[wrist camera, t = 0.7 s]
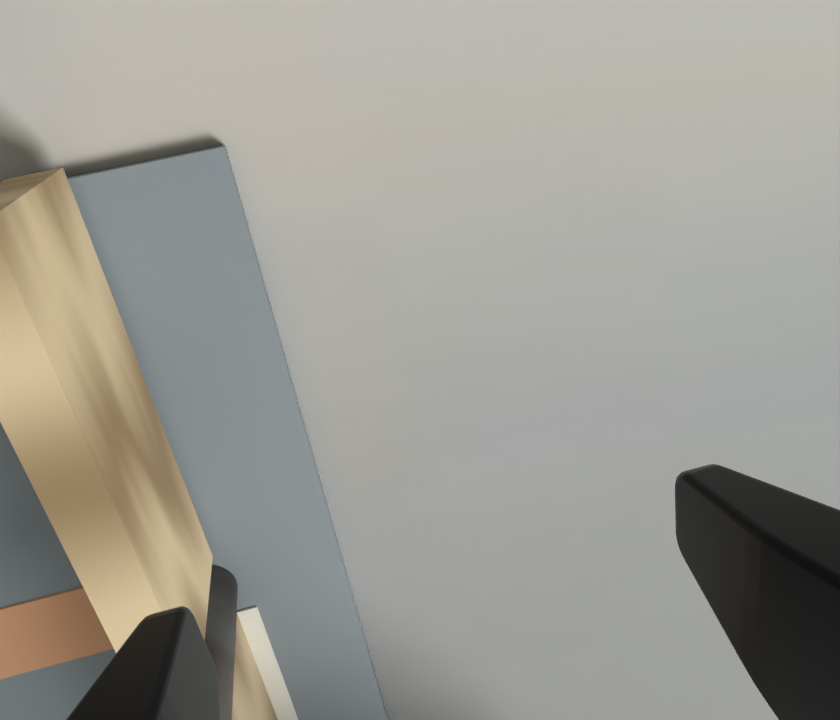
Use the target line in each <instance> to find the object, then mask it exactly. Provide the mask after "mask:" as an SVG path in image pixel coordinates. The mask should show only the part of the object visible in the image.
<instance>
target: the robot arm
mask: <svg viewBox="0 0 840 720" xmlns="http://www.w3.org/2000/svg"><path fill="white" fill-rule="evenodd" d="M675 512H676V537H677V542H678V545H679V548H680V551H681V553H682V555H683V557H684V559H685V561H686V563H687V565H688V567H689V568H690V570H691V572H692V574H693V575H694V577H695V579H696V581H697V583H698V584H699V586H700V588H701V590H702V592H703V593H704V595H705V597H706V599H707V601H708V602H709V604H710V606H711V608H712V610H713V611H714V613H715V615H716V617H717V618H718V620H719V622H720V624H721V626H722V627H723V629H724V631H725V633H726V635H727V636H728V638H729V640H730V642H731V644H732V645H733V647H734V649H735V651H736V653H737V654H738V656H739V658H740V660H741V661H742V663H743V665H744V667H745V668H746V670H747V672H748V673H749V675H750V677H751V678H752V680H753V682H754V683H755V685H756V686H757V688H758V689H759V691H760V692H761V694H762V695H763V697H764V698H765V700H766V701H767V703H768V704H769V706H770V707H771V709H772V710H773V712H774V713H775V714H776V716H777V717H778V719H779V720H840V510H838V509H835V508H833V507H830V506H827V505H825V504H822V503H819V502H817V501H814V500H811V499H809V498H806V497H803V496H801V495H798V494H795V493H793V492H790V491H787V490H785V489H782V488H779V487H777V486H774V485H771V484H768V483H766V482H763V481H760V480H758V479H755V478H752V477H750V476H747V475H744V474H742V473H739V472H736V471H734V470H731V469H728V468H726V467H723V466H720V465H715V464H711V465H706V466H702V467H699V468H695V469H691V470H687V471H684V472H682V473H680V474H679V475H678V477H677V479H676V483H675ZM66 720H220V713H219V690H218V679H217V673H216V669H215V665H214V662H213V660H212V657H211V655H210V652H209V650H208V648H207V645H206V643H205V640H204V638H203V636H202V633H201V631H200V628H199V626H198V624H197V621H196V619H195V617H194V615H193V613H192V612H191V610H190V609H189V608H187V607H184V606H180V607H176V608H172V609H168V610H165V611H161V612H157V613H153V614H151V615H148V616H146V617H145V618H144V619H143V620H142V621H141V622H140V623H139V624H138V626H137V627H136V628H135V630H134V631H133V632H132V633H131V635H130V636H129V637H128V639H127V640H126V641H125V643H124V644H123V645H122V647H121V648H120V649H119V651H118V652H117V653H116V654H115V656H114V657H113V658H112V660H111V661H110V662H109V664H108V665H107V666H106V668H105V669H104V670H103V672H102V673H101V674H100V676H99V677H98V678H97V679H96V681H95V682H94V683H93V685H92V686H91V687H90V689H89V690H88V691H87V693H86V694H85V695H84V697H83V698H82V699H81V700H80V702H79V703H78V704H77V706H76V707H75V708H74V710H73V711H72V712H71V714H70V715H69V716H68V718H67V719H66Z"/></svg>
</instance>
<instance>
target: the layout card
mask: <svg viewBox="0 0 840 720" xmlns="http://www.w3.org/2000/svg"><path fill="white" fill-rule="evenodd" d="M67 179H68V182H69V184H70V187H71V189H72V192H73V195H74V197H75V200H76V202H77V205H78V208H79V210H80V213H81V215H82V218H83V221H84V223H85V226H86V228H87V231H88V234H89V236H90V239H91V241H92V244H93V247H94V249H95V252H96V254H97V257H98V260H99V262H100V265H101V267H102V270H103V273H104V275H105V278H106V280H107V283H108V286H109V288H110V291H111V293H112V296H113V299H114V301H115V304H116V306H117V309H118V312H119V314H120V317H121V319H122V322H123V324H124V327H125V330H126V332H127V335H128V337H129V340H130V343H131V345H132V348H133V350H134V353H135V356H136V358H137V361H138V363H139V366H140V369H141V371H142V374H143V376H144V379H145V382H146V384H147V387H148V389H149V392H150V395H151V397H152V400H153V402H154V405H155V408H156V410H157V413H158V415H159V418H160V421H161V423H162V426H163V428H164V431H165V434H166V436H167V439H168V441H169V444H170V447H171V449H172V452H173V454H174V457H175V460H176V462H177V465H178V467H179V470H180V473H181V475H182V478H183V480H184V483H185V486H186V488H187V491H188V493H189V496H190V499H191V501H192V504H193V506H194V509H195V511H196V514H197V517H198V519H199V522H200V524H201V527H202V530H203V532H204V535H205V537H206V540H207V543H208V545H209V548H210V550H211V553H212V556H213V560H212V565H217V566H220V567H223V568H225V569H227V570H228V571H229V572H231V573H232V574H233V575H234V577H235V579H236V581H237V584H238V593H237V614H238V617H239V620H240V622H241V625H242V627H243V630H244V633H245V635H246V638H247V640H248V643H249V646H250V648H251V651H252V653H253V656H254V659H255V661H256V664H257V667H258V669H259V672H260V674H261V677H262V680H263V682H264V685H265V687H266V690H267V693H268V695H269V698H270V700H271V703H272V706H273V708H274V711H275V714H276V716H277V719H278V720H388V719H387V715H386V712H385V708H384V705H383V701H382V698H381V694H380V691H379V687H378V684H377V680H376V677H375V673H374V670H373V666H372V662H371V659H370V655H369V652H368V648H367V645H366V641H365V638H364V634H363V631H362V627H361V624H360V620H359V617H358V613H357V609H356V606H355V602H354V599H353V595H352V592H351V588H350V585H349V581H348V578H347V574H346V571H345V567H344V564H343V560H342V557H341V553H340V549H339V546H338V542H337V539H336V535H335V532H334V528H333V525H332V521H331V518H330V514H329V511H328V507H327V504H326V500H325V496H324V493H323V489H322V486H321V482H320V479H319V475H318V472H317V468H316V465H315V461H314V458H313V454H312V451H311V447H310V443H309V440H308V436H307V433H306V429H305V426H304V422H303V419H302V415H301V412H300V408H299V405H298V401H297V398H296V394H295V391H294V387H293V383H292V380H291V376H290V373H289V369H288V366H287V362H286V359H285V355H284V352H283V348H282V345H281V341H280V338H279V334H278V330H277V327H276V323H275V320H274V316H273V313H272V309H271V306H270V302H269V299H268V295H267V292H266V288H265V285H264V281H263V277H262V274H261V270H260V267H259V263H258V260H257V256H256V253H255V249H254V246H253V242H252V239H251V235H250V232H249V228H248V225H247V221H246V217H245V214H244V210H243V207H242V203H241V200H240V196H239V193H238V189H237V186H236V182H235V179H234V175H233V172H232V168H231V164H230V161H229V157H228V154H227V150H226V147H225V145H222V146H217V147H212V148H208V149H203V150H198V151H193V152H188V153H183V154H178V155H174V156H169V157H164V158H159V159H154V160H149V161H145V162H140V163H135V164H130V165H125V166H120V167H115V168H111V169H106V170H101V171H96V172H91V173H86V174H82V175H77V176H72V177H67ZM115 654H116V652H115V650H114V648H113V646H112V644H111V642H110V640H109V638H108V636H107V634H106V632H105V630H104V628H103V626H102V624H101V622H100V620H99V618H98V616H97V614H96V612H95V610H94V608H93V606H92V604H91V602H90V600H89V598H88V596H87V594H86V592H85V590H84V588H83V586H82V584H81V582H80V580H79V578H78V576H77V574H76V572H75V570H74V568H73V566H72V564H71V562H70V560H69V558H68V556H67V554H66V552H65V550H64V548H63V546H62V544H61V542H60V540H59V538H58V536H57V534H56V532H55V530H54V528H53V526H52V524H51V522H50V520H49V518H48V516H47V514H46V512H45V510H44V508H43V506H42V504H41V502H40V500H39V498H38V496H37V494H36V492H35V490H34V488H33V486H32V484H31V482H30V480H29V478H28V476H27V474H26V472H25V470H24V468H23V466H22V464H21V462H20V460H19V458H18V456H17V454H16V452H15V450H14V448H13V446H12V444H11V442H10V440H9V438H8V436H7V434H6V432H5V430H4V428H3V426H2V424H1V422H0V720H66V719H67V718H68V716H69V715H70V714H71V712H72V711H73V710H74V708H75V707H76V706H77V704H78V703H79V702H80V700H81V699H82V698H83V697H84V695H85V694H86V693H87V691H88V690H89V689H90V687H91V686H92V685H93V683H94V682H95V681H96V679H97V678H98V677H99V676H100V674H101V673H102V672H103V670H104V669H105V668H106V666H107V665H108V664H109V662H110V661H111V660H112V658H113V657H114V656H115Z"/></svg>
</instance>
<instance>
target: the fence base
mask: <svg viewBox="0 0 840 720" xmlns="http://www.w3.org/2000/svg"><path fill="white" fill-rule="evenodd" d="M237 593H238V584H237V581H236V579H235V577H234V575H233V574H232V573H231V572H229V571H228V570H227V569H225V568H223V567H220V566H217V565H212V570H211V580H210V591H209V601H208V611H207V621H206V632H205V643H206V645H207V648H208V650H209V652H210V655H211V657H212V660H213V662H214V665H215V669H216V673H217V679H218V690H219V713H220V720H278V719H277V716H276V714H275V711H274V708H273V706H272V703H271V700H270V698H269V695H268V693H267V690H266V687H265V685H264V682H263V680H262V677H261V674H260V672H259V669H258V667H257V664H256V661H255V659H254V656H253V653H252V651H251V648H250V646H249V643H248V640H247V638H246V635H245V633H244V630H243V627H242V625H241V622H240V620H239V617H238V614H237Z"/></svg>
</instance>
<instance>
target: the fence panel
mask: <svg viewBox="0 0 840 720" xmlns="http://www.w3.org/2000/svg"><path fill="white" fill-rule="evenodd" d="M0 422H1V424H2V426H3V428H4V430H5V432H6V434H7V436H8V438H9V440H10V442H11V444H12V446H13V448H14V450H15V452H16V454H17V456H18V458H19V460H20V462H21V464H22V466H23V468H24V470H25V472H26V474H27V476H28V478H29V480H30V482H31V484H32V486H33V488H34V490H35V492H36V494H37V496H38V498H39V500H40V502H41V504H42V506H43V508H44V510H45V512H46V514H47V516H48V518H49V520H50V522H51V524H52V526H53V528H54V530H55V532H56V534H57V536H58V538H59V540H60V542H61V544H62V546H63V548H64V550H65V552H66V554H67V556H68V558H69V560H70V562H71V564H72V566H73V568H74V570H75V572H76V574H77V576H78V578H79V580H80V582H81V584H82V586H83V588H84V590H85V592H86V594H87V596H88V598H89V600H90V602H91V604H92V606H93V608H94V610H95V612H96V614H97V616H98V618H99V620H100V622H101V624H102V626H103V628H104V630H105V632H106V634H107V636H108V638H109V640H110V642H111V644H112V646H113V648H114V650H115V652H116V653H117V652H118V651H119V649H120V648H121V647H122V645H123V644H124V643H125V641H126V640H127V639H128V637H129V636H130V635H131V633H132V632H133V631H134V630H135V628H136V627H137V626H138V624H139V623H140V622H141V621H142V620H143V619H144V618H145V617H146V616H148V615H151V614H153V613H157V612H161V611H165V610H168V609H172V608H176V607H180V606H184V607H187V608H189V609H190V610H191V612H192V613H193V615H194V617H195V619H196V621H197V624H198V626H199V628H200V631H201V633H202V636H203V638H204V640H205V632H206V621H207V611H208V601H209V591H210V580H211V570H212V560H213V556H212V553H211V550H210V548H209V545H208V543H207V540H206V537H205V535H204V532H203V530H202V527H201V524H200V522H199V519H198V517H197V514H196V511H195V509H194V506H193V504H192V501H191V499H190V496H189V493H188V491H187V488H186V486H185V483H184V480H183V478H182V475H181V473H180V470H179V467H178V465H177V462H176V460H175V457H174V454H173V452H172V449H171V447H170V444H169V441H168V439H167V436H166V434H165V431H164V428H163V426H162V423H161V421H160V418H159V415H158V413H157V410H156V408H155V405H154V402H153V400H152V397H151V395H150V392H149V389H148V387H147V384H146V382H145V379H144V376H143V374H142V371H141V369H140V366H139V363H138V361H137V358H136V356H135V353H134V350H133V348H132V345H131V343H130V340H129V337H128V335H127V332H126V330H125V327H124V324H123V322H122V319H121V317H120V314H119V312H118V309H117V306H116V304H115V301H114V299H113V296H112V293H111V291H110V288H109V286H108V283H107V280H106V278H105V275H104V273H103V270H102V267H101V265H100V262H99V260H98V257H97V254H96V252H95V249H94V247H93V244H92V241H91V239H90V236H89V234H88V231H87V228H86V226H85V223H84V221H83V218H82V215H81V213H80V210H79V208H78V205H77V202H76V200H75V197H74V195H73V192H72V189H71V187H70V184H69V182H68V179H67V176H66V174H65V171H64V169H63V167H62V168H57V169H52V170H47V171H42V172H37V173H32V174H27V175H23V176H18V177H13V178H8V179H5V180H3V181H2V182H0Z"/></svg>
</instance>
